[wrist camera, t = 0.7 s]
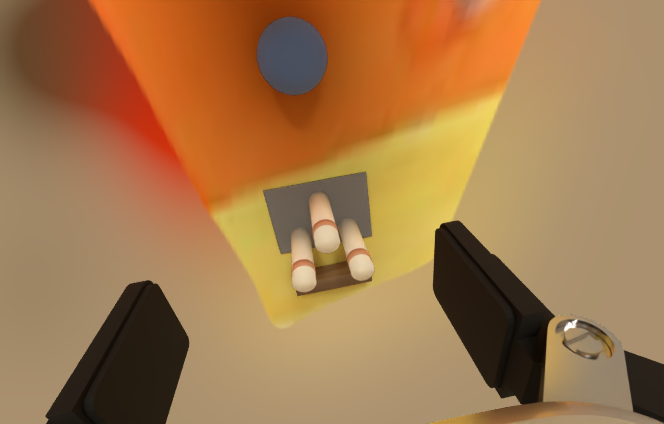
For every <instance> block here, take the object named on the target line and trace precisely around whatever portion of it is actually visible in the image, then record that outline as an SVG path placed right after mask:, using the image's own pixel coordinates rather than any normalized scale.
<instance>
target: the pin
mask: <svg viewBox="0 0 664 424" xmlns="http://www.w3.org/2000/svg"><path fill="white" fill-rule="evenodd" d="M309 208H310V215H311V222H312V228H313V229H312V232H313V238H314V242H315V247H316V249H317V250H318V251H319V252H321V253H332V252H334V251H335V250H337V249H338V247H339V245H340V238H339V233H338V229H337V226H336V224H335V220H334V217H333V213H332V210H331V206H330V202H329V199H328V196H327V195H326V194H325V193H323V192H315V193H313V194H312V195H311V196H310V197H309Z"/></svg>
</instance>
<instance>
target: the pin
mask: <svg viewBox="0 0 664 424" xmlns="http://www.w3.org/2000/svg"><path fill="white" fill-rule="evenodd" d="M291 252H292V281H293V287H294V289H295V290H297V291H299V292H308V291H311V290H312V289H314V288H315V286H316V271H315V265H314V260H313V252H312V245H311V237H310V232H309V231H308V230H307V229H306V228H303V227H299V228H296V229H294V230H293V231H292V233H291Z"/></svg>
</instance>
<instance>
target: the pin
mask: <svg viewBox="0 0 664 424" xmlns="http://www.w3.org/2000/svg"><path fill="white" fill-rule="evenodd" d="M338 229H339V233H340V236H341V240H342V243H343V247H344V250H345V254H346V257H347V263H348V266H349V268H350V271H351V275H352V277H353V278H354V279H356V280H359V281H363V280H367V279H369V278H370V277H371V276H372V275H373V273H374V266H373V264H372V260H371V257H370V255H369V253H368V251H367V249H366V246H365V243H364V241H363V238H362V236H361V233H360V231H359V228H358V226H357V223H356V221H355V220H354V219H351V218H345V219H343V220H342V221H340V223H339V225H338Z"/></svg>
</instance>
